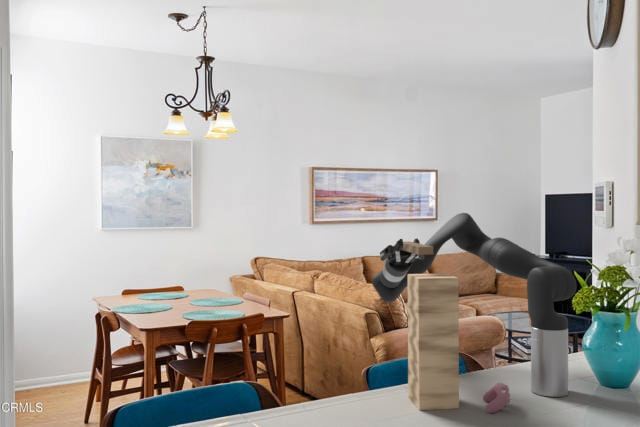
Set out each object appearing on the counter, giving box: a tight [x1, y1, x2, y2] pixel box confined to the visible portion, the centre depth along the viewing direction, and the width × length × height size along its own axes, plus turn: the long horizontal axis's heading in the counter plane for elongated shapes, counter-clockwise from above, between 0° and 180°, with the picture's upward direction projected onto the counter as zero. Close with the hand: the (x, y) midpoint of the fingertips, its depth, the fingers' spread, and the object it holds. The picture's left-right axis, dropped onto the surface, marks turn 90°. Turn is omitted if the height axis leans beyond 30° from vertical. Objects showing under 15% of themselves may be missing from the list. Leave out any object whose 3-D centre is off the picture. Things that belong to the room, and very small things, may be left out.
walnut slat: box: [401, 241, 433, 255], centre depth 169 cm, size 22×4×2 cm, turn 7°
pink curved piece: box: [482, 381, 512, 414], centre depth 149 cm, size 10×5×7 cm, turn 170°
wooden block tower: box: [406, 272, 460, 411], centre depth 153 cm, size 10×10×32 cm
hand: (409, 241), depth 173 cm, fingers closed on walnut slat, 4 cm apart
